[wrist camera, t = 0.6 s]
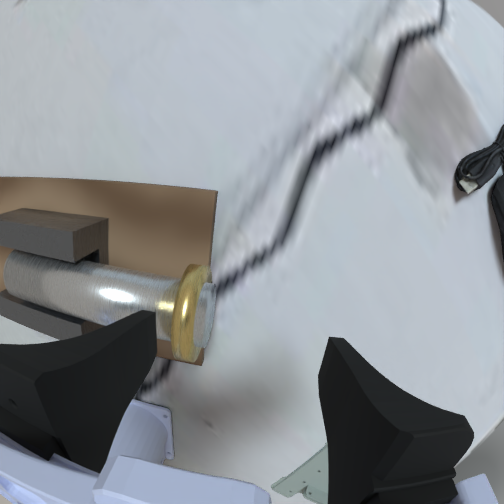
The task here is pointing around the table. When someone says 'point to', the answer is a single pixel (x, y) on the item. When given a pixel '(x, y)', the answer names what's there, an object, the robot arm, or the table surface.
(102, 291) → the shaft
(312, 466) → the metal bracket
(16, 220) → the bearing block
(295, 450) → the table surface
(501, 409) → the table surface
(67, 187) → the base board
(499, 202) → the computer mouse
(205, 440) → the table surface
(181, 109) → the table surface
